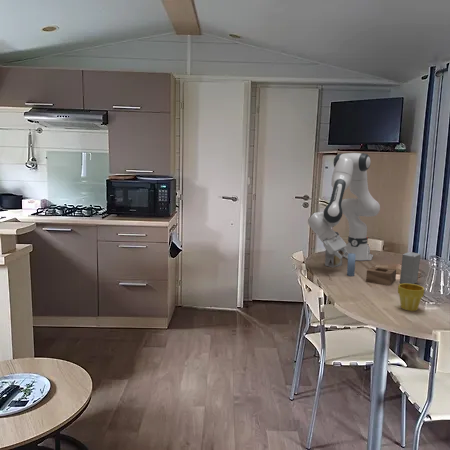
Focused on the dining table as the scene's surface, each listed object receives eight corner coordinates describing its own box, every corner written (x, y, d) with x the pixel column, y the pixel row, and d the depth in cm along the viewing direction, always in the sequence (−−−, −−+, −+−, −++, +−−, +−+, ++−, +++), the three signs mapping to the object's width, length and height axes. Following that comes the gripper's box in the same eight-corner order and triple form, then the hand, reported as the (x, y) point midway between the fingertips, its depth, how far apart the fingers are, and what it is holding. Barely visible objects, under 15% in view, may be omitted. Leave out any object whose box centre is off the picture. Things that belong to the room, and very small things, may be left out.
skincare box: (405, 280, 232) (407, 251, 230) (419, 282, 227) (421, 253, 225) (398, 283, 226) (400, 253, 224) (412, 286, 221) (414, 255, 219)
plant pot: (427, 312, 183) (429, 290, 181) (403, 312, 182) (405, 290, 180) (414, 304, 193) (416, 283, 191) (392, 304, 192) (393, 283, 191)
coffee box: (333, 263, 268) (334, 237, 266) (342, 265, 264) (343, 239, 261) (324, 265, 262) (325, 239, 260) (333, 267, 258) (334, 241, 255)
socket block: (372, 276, 238) (373, 266, 237) (395, 280, 231) (396, 269, 230) (366, 281, 228) (366, 270, 227) (389, 285, 222) (390, 274, 221)
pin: (348, 273, 244) (349, 253, 242) (355, 275, 242) (356, 253, 240) (345, 275, 241) (347, 254, 239) (353, 276, 238) (354, 255, 236)
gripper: (325, 236, 236) (342, 256, 232) (339, 231, 252) (354, 250, 248) (317, 243, 239) (333, 263, 235) (331, 238, 255) (346, 257, 251)
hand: (344, 256), depth 242 cm, fingers open, 8 cm apart
